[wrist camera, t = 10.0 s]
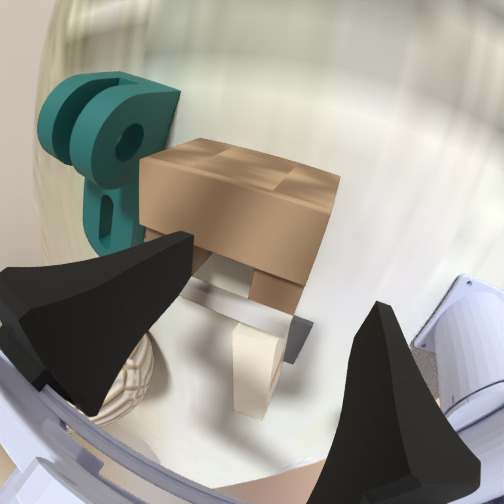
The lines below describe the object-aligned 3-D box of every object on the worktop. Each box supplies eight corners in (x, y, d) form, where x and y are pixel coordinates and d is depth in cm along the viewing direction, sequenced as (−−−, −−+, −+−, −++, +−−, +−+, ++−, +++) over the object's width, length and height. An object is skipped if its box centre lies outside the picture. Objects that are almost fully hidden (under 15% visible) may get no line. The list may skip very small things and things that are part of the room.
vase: (145, 372, 42) (78, 462, 26) (76, 302, 39) (-4, 382, 23) (193, 350, 32) (101, 486, 16) (99, 254, 30) (-26, 364, 14)
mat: (313, 322, 24) (312, 326, 23) (294, 361, 27) (293, 364, 27) (259, 302, 25) (257, 306, 24) (248, 343, 28) (246, 346, 28)
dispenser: (340, 176, 17) (330, 216, 12) (307, 274, 22) (284, 338, 16) (200, 138, 19) (137, 160, 14) (191, 232, 24) (140, 277, 18)
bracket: (121, 71, 18) (42, 79, 12) (182, 90, 18) (100, 99, 12) (96, 234, 29) (45, 270, 23) (140, 265, 28) (89, 310, 22)
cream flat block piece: (295, 294, 22) (276, 345, 18) (279, 378, 29) (262, 420, 24) (259, 285, 23) (232, 332, 19) (252, 370, 29) (233, 410, 25)
